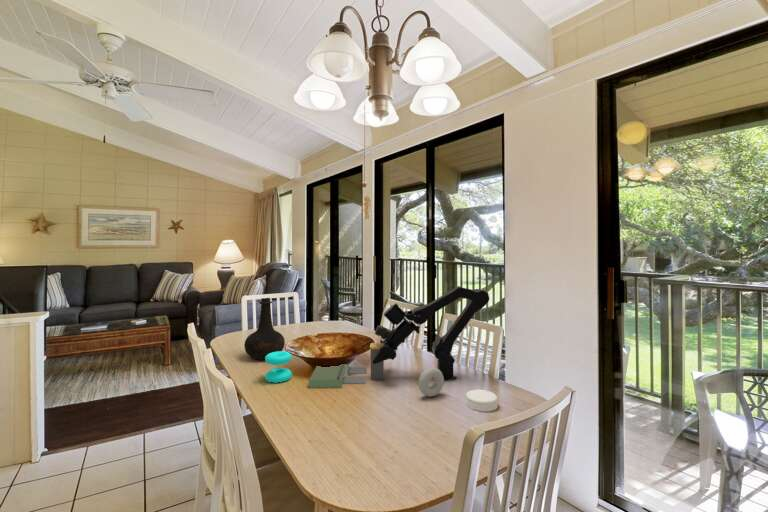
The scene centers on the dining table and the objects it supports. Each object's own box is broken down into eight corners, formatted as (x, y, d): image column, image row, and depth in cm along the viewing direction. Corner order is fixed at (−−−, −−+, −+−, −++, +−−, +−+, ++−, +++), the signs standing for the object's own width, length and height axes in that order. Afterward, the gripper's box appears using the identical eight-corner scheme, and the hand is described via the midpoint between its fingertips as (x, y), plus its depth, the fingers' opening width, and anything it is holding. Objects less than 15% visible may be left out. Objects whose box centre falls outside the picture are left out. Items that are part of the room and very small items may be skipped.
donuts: (292, 356, 138) (264, 359, 135) (292, 382, 139) (265, 385, 136) (290, 349, 148) (264, 351, 145) (290, 373, 148) (265, 376, 145)
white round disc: (459, 402, 121) (460, 391, 121) (484, 397, 125) (484, 387, 125) (478, 414, 112) (478, 403, 112) (504, 409, 115) (504, 398, 115)
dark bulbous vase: (236, 358, 168) (236, 298, 167) (268, 349, 183) (268, 294, 182) (260, 365, 158) (260, 302, 157) (292, 355, 173) (292, 297, 172)
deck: (367, 369, 153) (367, 360, 153) (364, 387, 133) (364, 377, 133) (318, 369, 153) (318, 361, 153) (309, 387, 133) (309, 378, 133)
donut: (440, 391, 129) (440, 363, 129) (446, 395, 126) (446, 366, 126) (416, 397, 124) (416, 368, 124) (422, 401, 121) (422, 371, 121)
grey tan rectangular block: (383, 375, 146) (383, 343, 145) (383, 380, 140) (383, 347, 140) (370, 375, 146) (370, 343, 145) (370, 380, 140) (370, 347, 140)
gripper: (386, 314, 152) (360, 340, 152) (387, 323, 133) (357, 353, 133) (405, 332, 152) (379, 358, 152) (408, 344, 133) (378, 374, 134)
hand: (373, 360), depth 143 cm, fingers closed on grey tan rectangular block, 5 cm apart
